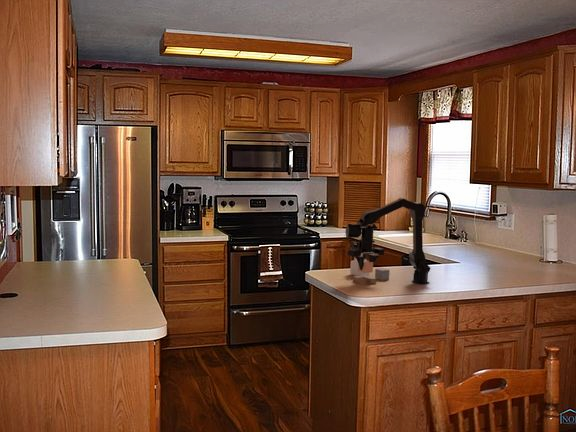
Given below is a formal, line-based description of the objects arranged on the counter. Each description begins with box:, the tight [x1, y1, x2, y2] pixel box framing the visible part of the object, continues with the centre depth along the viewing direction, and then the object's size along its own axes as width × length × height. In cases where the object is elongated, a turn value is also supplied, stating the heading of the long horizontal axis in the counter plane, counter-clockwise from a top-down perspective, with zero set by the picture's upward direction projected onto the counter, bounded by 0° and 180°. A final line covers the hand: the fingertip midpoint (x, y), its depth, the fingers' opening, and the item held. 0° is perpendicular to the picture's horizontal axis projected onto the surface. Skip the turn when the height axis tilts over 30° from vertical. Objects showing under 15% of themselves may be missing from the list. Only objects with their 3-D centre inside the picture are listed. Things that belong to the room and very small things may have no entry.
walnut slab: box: [352, 275, 378, 286], centre depth 296 cm, size 8×8×3 cm
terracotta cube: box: [358, 259, 374, 274], centre depth 295 cm, size 5×5×5 cm
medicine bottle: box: [349, 254, 370, 276], centre depth 314 cm, size 7×7×12 cm
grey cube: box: [374, 267, 390, 281], centre depth 306 cm, size 5×5×5 cm
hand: (365, 269), depth 295 cm, fingers closed on terracotta cube, 5 cm apart
